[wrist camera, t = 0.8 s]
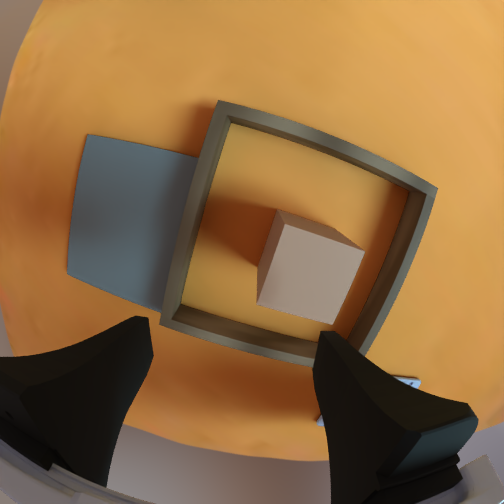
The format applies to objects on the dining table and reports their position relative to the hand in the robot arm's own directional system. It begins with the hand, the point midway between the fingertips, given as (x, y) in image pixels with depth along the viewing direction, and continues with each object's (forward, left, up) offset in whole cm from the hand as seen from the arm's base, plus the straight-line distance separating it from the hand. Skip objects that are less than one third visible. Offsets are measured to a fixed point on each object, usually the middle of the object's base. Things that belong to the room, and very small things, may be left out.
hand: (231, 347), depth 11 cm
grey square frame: (-3, -3, -10) cm, 10 cm away
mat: (+10, -1, -10) cm, 14 cm away
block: (-3, -3, -10) cm, 10 cm away
